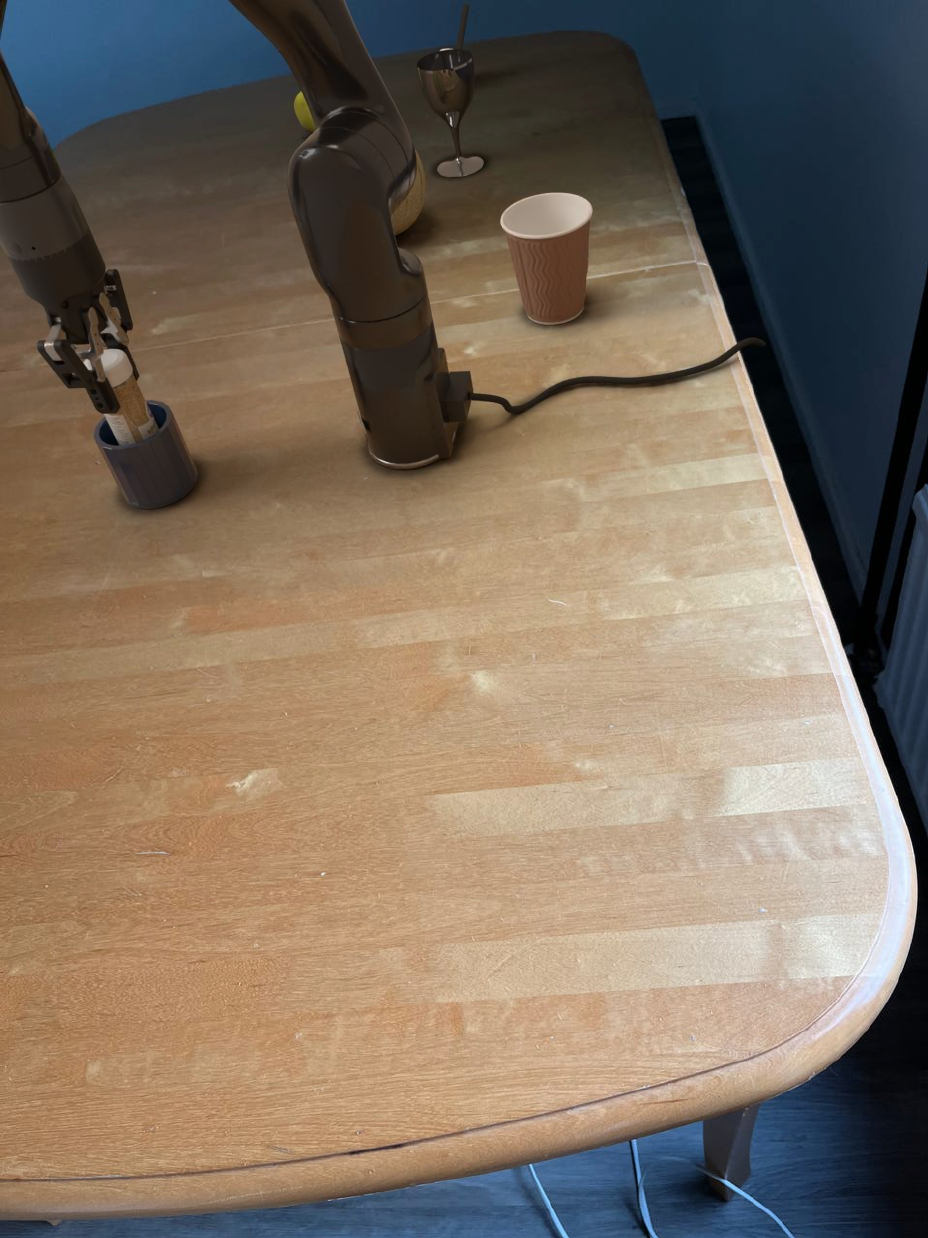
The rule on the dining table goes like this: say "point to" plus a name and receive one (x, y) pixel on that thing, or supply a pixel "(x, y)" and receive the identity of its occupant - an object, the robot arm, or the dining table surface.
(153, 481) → the holder cup
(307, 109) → the apple
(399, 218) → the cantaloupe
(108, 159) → the dining table surface
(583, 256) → the coffee cup
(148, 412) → the sprinkles bottle
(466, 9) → the dark thin bar
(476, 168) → the wine glass
